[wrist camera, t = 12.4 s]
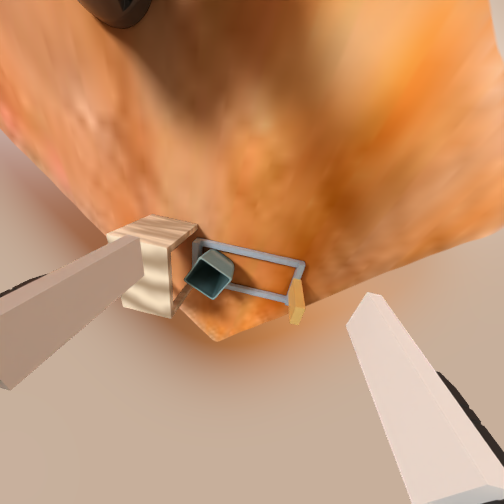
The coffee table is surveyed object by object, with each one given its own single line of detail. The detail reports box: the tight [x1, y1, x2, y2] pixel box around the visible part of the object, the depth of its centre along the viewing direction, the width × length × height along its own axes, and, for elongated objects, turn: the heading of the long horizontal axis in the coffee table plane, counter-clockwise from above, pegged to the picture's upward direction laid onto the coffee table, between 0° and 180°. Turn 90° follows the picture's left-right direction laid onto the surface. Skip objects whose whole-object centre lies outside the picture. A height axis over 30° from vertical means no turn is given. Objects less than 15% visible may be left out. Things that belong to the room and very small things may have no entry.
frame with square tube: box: [192, 237, 305, 325], centre depth 44 cm, size 14×28×12 cm, turn 80°
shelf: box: [106, 214, 197, 318], centre depth 44 cm, size 19×12×14 cm, turn 170°
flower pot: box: [184, 249, 234, 300], centre depth 46 cm, size 9×9×9 cm
